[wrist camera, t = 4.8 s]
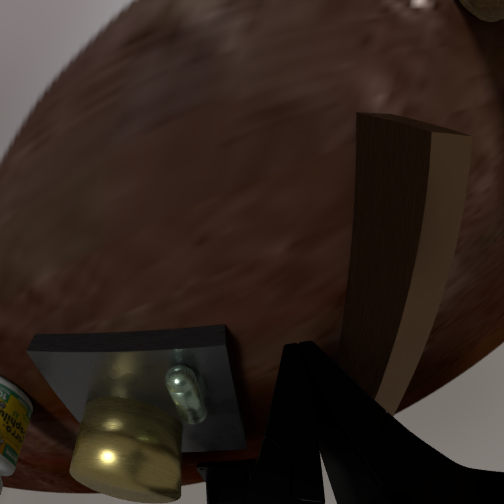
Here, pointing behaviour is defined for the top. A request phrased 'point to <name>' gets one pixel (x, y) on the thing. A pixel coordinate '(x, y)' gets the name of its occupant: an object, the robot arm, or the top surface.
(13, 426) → the supplement bottle
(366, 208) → the brown bar with knob
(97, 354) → the plate
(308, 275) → the top surface
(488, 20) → the sprinkles bottle
